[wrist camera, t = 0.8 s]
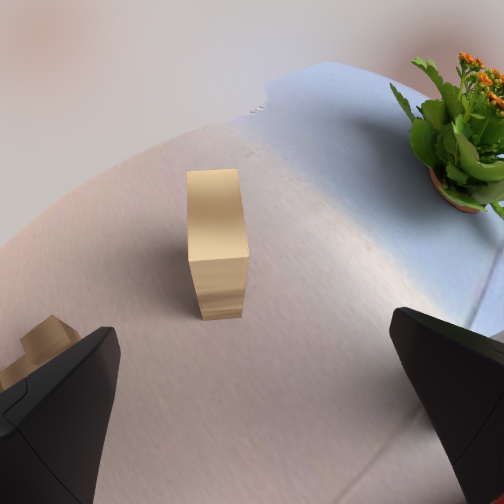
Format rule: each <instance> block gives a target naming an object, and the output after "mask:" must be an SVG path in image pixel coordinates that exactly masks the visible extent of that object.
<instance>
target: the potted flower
mask: <svg viewBox="0 0 504 504" xmlns="http://www.w3.org/2000/svg"><path fill="white" fill-rule="evenodd" d="M459 54H460V56H459V60H460V64H461V67H462V75H461V73H460V71H459V69H458V68H457V67H456V69H457V72H458V74H459V76H460V78H461V80H462V81H461V86H460V89H458V88H457V87H456V86H452V84H451V83H449V82H446V83H444V84H442V83H443V79H442V76H440V75H438V71H437V70H436V65H435V63H434V62H433V61H432V60H431V59H428V60H427V64H428V65H427V64H426V62H425V61H424V60H421V59H420V58H419V57H417V56H415V60H410V61H411V62H412V63H413V64H415V65H416V66H418V67H419V68H420V69H422V70H423V71H424V72H425V73H426V74H427V75H428V76H429V77H430V78H431V79H432V81H433V82H434V83H435V84H436V86H437V88H438V90H439V91H440V93H441V95H442V98H441V99H442V101H440V102H439V100H438V99H436V100H426V101H425V103H422V104H421V109H420V108H419V107H418V106H416V107H417V109H418V110H419V111H420V112H421V114H422V115H423V117H424V120H423V119H421V118H419V117H417V119H416V118H415V117H414V115H413V114H412V113H411V109H410V105H409V102H408V100H407V99H406V98H403V96H402V95H401V93H400V92H397V89H396V88H395V87H394V86H393V85H392V84H391V83H390V87H391V89H392V91H393V93H394V95H395V97H396V99H397V101H398V102H399V104H400V105H401V107H402V108H403V110H404V111H405V113H406V114H407V116H408V117H409V118H410V120H411V122H412V124H413V125H412V127H411V131H410V130H409V132H410V134H411V136H410V144H411V146H412V151H413V153H414V154H415V156H416V157H417V158H418V159H419V160H420V161H421V162H423V163H424V164H425V165H426V166H428V167H429V172H430V177H431V180H432V181H433V183H434V185H435V187H436V188H437V190H438V191H439V193H440V194H441V195H442V196H443V197H444V198H445V199H446V200H447V201H448V202H450V203H451V204H453V205H454V206H455V207H457V208H458V209H459V210H462V211H465V212H473V213H476V212H478V211H480V210H483V211H486V212H487V210H486V209H485V207H486V206H487V204H490V205H491V206H492V208H493V210H494V211H495V212H496V213H497V214H498V215H499V216H500V217H501V218H502V219H503V220H504V207H501V206H500V205H498V202H499V201H504V158H499V156H498V157H497V155H500V154H504V103H503V102H504V97H502V98H499V96H504V75H501V74H500V72H499V71H498V70H496V69H495V68H494V71H492V69H488V70H486V71H483V72H481V71H480V69H485V67H484V65H483V63H481V61H480V60H479V59H478V58H477V59H475V60H474V59H473V58H472V56H470V55H469V54H465V53H463V52H460V53H459ZM468 67H470V69H469V71H468V72H467V73H466V74H465V71H464V70H466V69H467V68H468ZM471 71H476V72H477V73H474V72H473V73H472V74H470V77H469V75H468V74H469V73H470V72H471ZM464 74H465V75H464ZM491 74H493V75H491ZM465 77H466V80H465ZM466 81H467V82H470V81H472V82H471V83H470V85H469V86H468V88H467V85H466ZM464 83H465V87H466V93H464V94H463V95H462V88H463V84H464ZM473 83H475V85H474V88H475V89H474V90H472V89H473V88H472V89H470V87H471V85H472V84H473ZM467 84H468V83H467ZM495 88H497V91H495ZM469 91H471V92H470V94H469ZM472 91H474V92H473V93H472ZM500 91H502V92H501V93H500ZM497 92H498V93H497ZM468 94H469V96H468ZM467 98H468V99H467ZM474 99H475V100H474ZM467 100H468V101H469V102H467Z"/></svg>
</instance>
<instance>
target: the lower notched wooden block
mask: <svg viewBox="0 0 504 504" xmlns="http://www.w3.org/2000/svg"><path fill="white" fill-rule="evenodd" d="M20 340H21V343H22V345H23V348H24V350H25V353H26V354H25V355H23V356H22V357H21V358H19V359H18V360H17V361H16V362H14V363H13V364H12V365H10V366H9V367H8V368H7V369H5V370H4V371H3V372H2V373H0V393H1V392H2V391H4V390H6V389H7V388H9V387H11V386H12V385H14V384H15V383H17V382H18V381H20V380H21V379H23V378H24V377H27V375H29V374H30V373H32V372H33V371H35V370H36V369H38V368H39V367H41V366H42V365H44V364H45V363H47V362H48V361H50V360H51V359H53V358H54V357H56V356H57V355H59V354H60V353H62V352H63V351H65V350H66V349H68V348H69V347H71V346H72V345H74V344H75V343H77V342H78V341H80V340H81V338H80V336H79V334H78V332H77V331H75V330H74V329H72V328H71V327H69V326H68V325H66V324H65V323H63V322H62V321H61V320H59V319H58V318H56V317H55V316H53V315H51V316H50V317H49V318H47V319H46V320H45V321H43V322H42V323H41V324H39V325H38V326H37V327H35V328H34V329H33V330H31V331H30V332H29V333H28V334H26V335H25V336H24V337H22V338H21V339H20Z"/></svg>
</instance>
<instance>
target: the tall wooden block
mask: <svg viewBox="0 0 504 504" xmlns="http://www.w3.org/2000/svg"><path fill="white" fill-rule="evenodd" d="M187 218H188V259H189V265H190V270H191V274H192V278H193V282H194V286H195V290H196V295H197V299H198V303H199V306H200V310H201V314H202V318H203V321H204V320H216V319H228V318H239V317H242V309H243V301H244V294H245V286H246V279H247V271H248V264H249V250H248V243H247V236H246V228H245V221H244V214H243V206H242V199H241V192H240V184H239V177H238V170H237V169H222V170H206V171H193V172H187Z"/></svg>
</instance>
